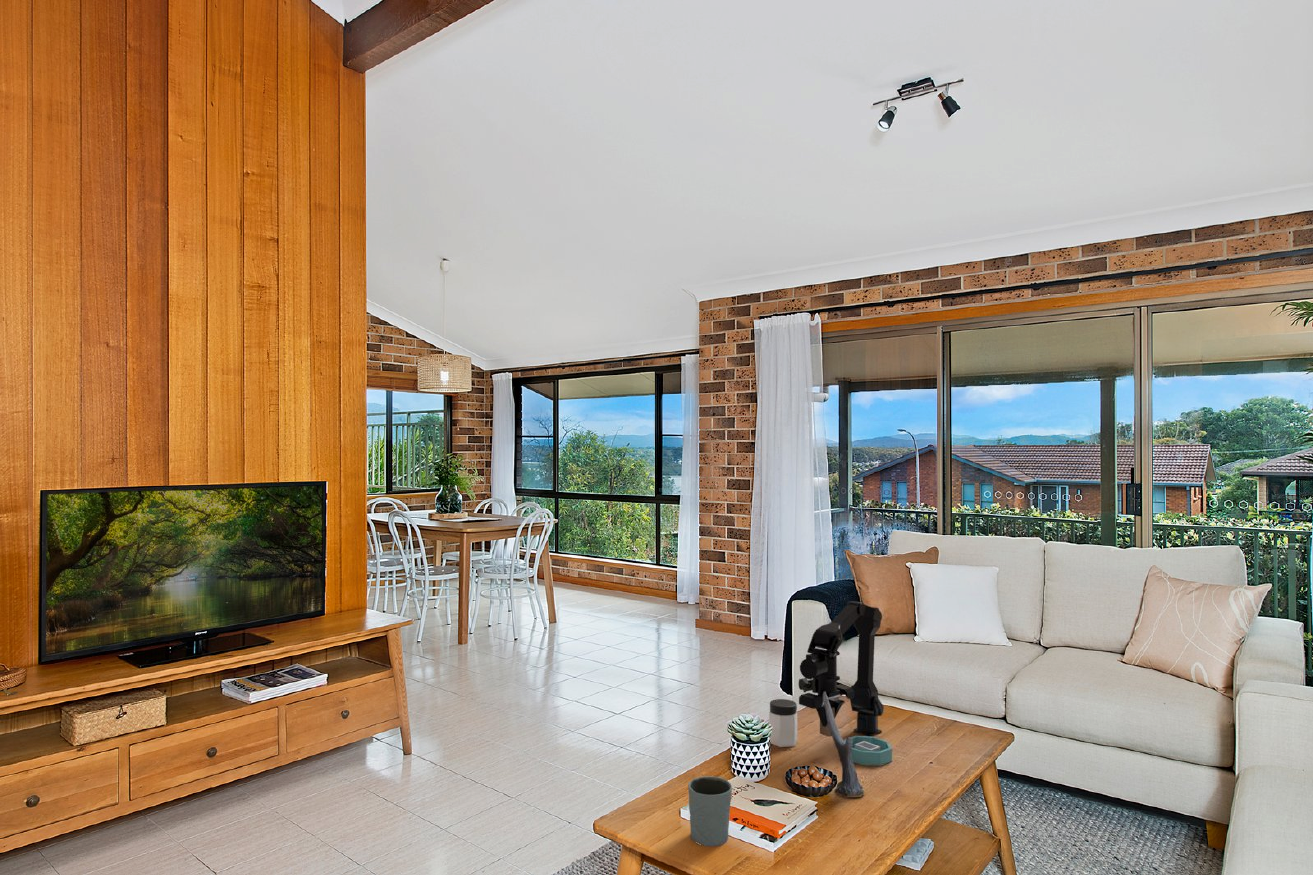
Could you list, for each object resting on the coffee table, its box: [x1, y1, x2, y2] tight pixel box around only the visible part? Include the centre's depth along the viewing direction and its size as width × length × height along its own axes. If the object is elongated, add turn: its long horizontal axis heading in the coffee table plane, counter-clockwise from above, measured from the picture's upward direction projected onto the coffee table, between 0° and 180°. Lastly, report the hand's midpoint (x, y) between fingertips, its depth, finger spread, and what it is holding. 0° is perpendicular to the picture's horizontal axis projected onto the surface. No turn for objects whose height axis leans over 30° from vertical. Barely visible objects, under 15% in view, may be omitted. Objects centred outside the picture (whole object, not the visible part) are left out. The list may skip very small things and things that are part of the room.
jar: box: [768, 698, 798, 748], centre depth 241 cm, size 9×8×12 cm
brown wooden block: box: [819, 707, 836, 738], centre depth 232 cm, size 2×4×8 cm, turn 37°
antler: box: [823, 692, 866, 799], centre depth 206 cm, size 12×8×25 cm
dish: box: [843, 735, 893, 767], centre depth 229 cm, size 13×13×4 cm
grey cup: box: [687, 775, 733, 847], centre depth 180 cm, size 10×10×12 cm
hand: (827, 725), depth 232 cm, fingers closed on brown wooden block, 2 cm apart
